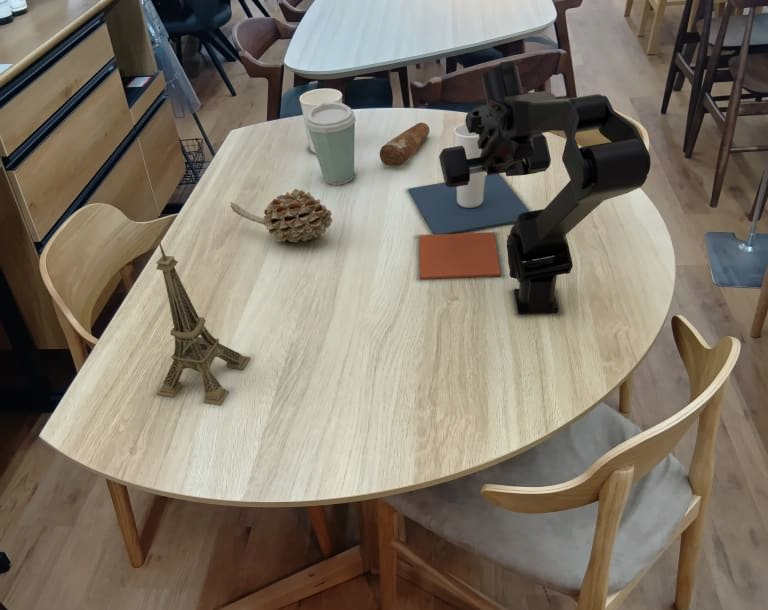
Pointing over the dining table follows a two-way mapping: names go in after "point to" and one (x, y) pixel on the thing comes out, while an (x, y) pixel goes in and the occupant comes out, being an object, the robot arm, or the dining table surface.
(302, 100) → the cream paper cup
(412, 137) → the bread
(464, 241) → the terracotta mat
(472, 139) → the tall white cup
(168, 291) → the eiffel tower
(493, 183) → the mat
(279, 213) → the pine cone
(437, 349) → the dining table surface
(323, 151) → the disposable coffee cup
